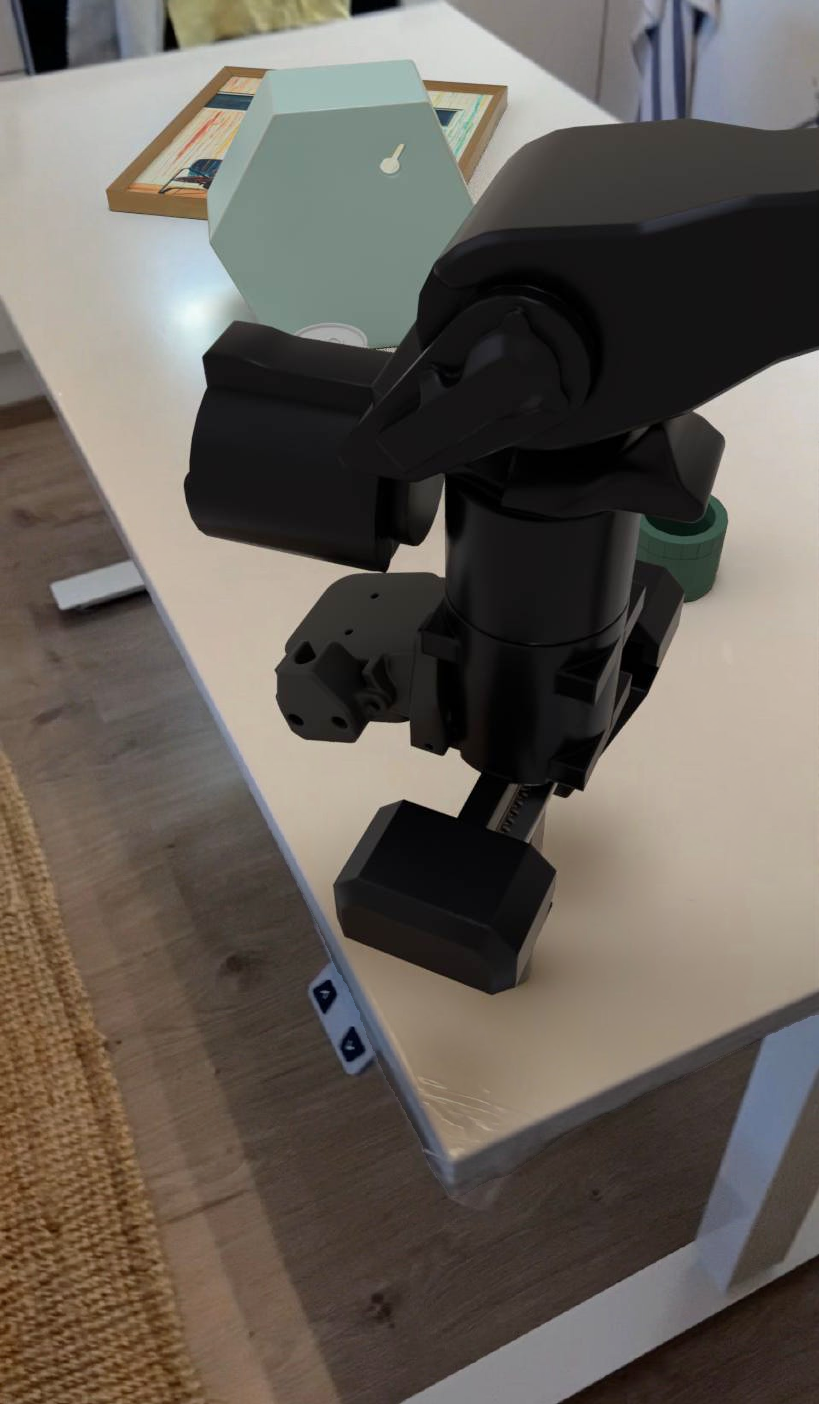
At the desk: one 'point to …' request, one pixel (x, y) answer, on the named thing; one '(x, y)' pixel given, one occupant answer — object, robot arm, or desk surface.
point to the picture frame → (205, 128)
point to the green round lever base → (686, 547)
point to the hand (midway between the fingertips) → (517, 874)
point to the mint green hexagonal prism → (337, 199)
